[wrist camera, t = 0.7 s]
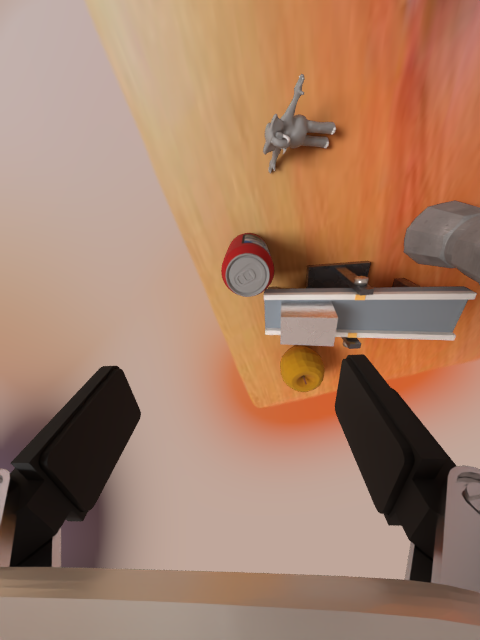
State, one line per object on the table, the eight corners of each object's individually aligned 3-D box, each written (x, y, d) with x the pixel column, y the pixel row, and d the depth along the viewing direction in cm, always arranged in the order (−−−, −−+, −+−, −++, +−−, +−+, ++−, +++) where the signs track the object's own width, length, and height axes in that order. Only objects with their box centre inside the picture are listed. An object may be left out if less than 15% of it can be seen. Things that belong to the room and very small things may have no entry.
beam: (265, 288, 33) (263, 295, 31) (463, 286, 28) (478, 294, 26) (266, 327, 37) (265, 335, 35) (443, 331, 32) (454, 340, 29)
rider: (281, 300, 32) (280, 317, 28) (330, 300, 31) (338, 317, 27) (281, 325, 34) (280, 344, 30) (327, 326, 33) (333, 346, 29)
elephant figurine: (316, 187, 31) (259, 187, 29) (303, 158, 33) (247, 155, 31) (368, 101, 22) (290, 90, 20) (346, 66, 24) (272, 52, 21)
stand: (267, 265, 37) (273, 289, 28) (411, 254, 35) (471, 276, 26) (268, 320, 43) (274, 356, 33) (393, 313, 41) (437, 349, 31)
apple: (269, 347, 46) (273, 378, 38) (305, 329, 43) (317, 358, 36) (288, 372, 49) (295, 405, 42) (323, 357, 47) (337, 388, 39)
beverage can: (275, 259, 37) (285, 285, 26) (241, 279, 39) (238, 310, 28) (255, 223, 34) (257, 235, 23) (220, 246, 36) (208, 267, 25)
